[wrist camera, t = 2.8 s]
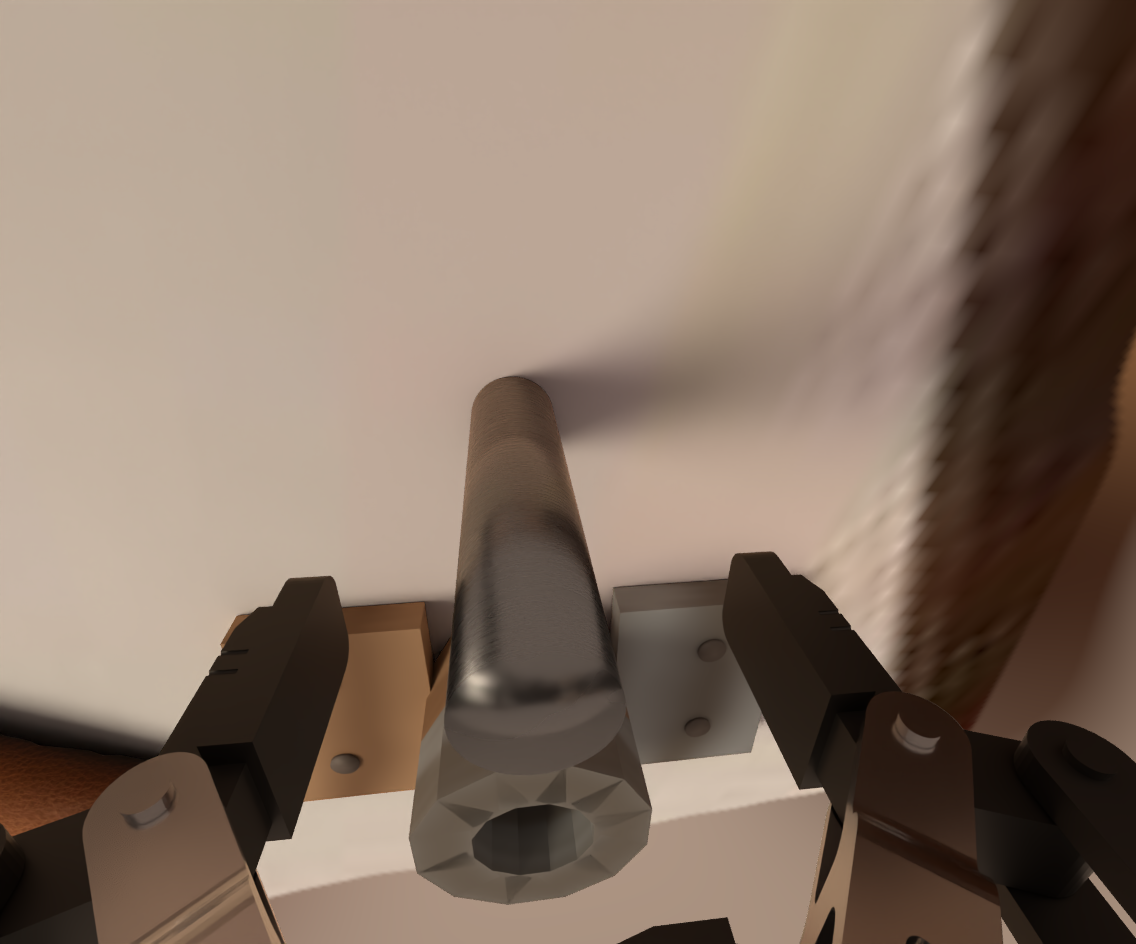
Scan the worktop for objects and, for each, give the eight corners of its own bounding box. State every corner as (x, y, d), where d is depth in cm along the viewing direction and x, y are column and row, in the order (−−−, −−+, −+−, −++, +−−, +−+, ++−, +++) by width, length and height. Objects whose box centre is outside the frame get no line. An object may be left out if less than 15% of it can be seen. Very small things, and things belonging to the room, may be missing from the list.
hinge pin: (474, 453, 19) (452, 783, 9) (468, 377, 18) (434, 662, 8) (553, 450, 20) (621, 765, 9) (553, 375, 18) (631, 645, 8)
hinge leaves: (295, 772, 26) (236, 953, 20) (236, 615, 22) (135, 791, 15) (739, 725, 29) (805, 875, 23) (775, 575, 24) (872, 714, 18)
